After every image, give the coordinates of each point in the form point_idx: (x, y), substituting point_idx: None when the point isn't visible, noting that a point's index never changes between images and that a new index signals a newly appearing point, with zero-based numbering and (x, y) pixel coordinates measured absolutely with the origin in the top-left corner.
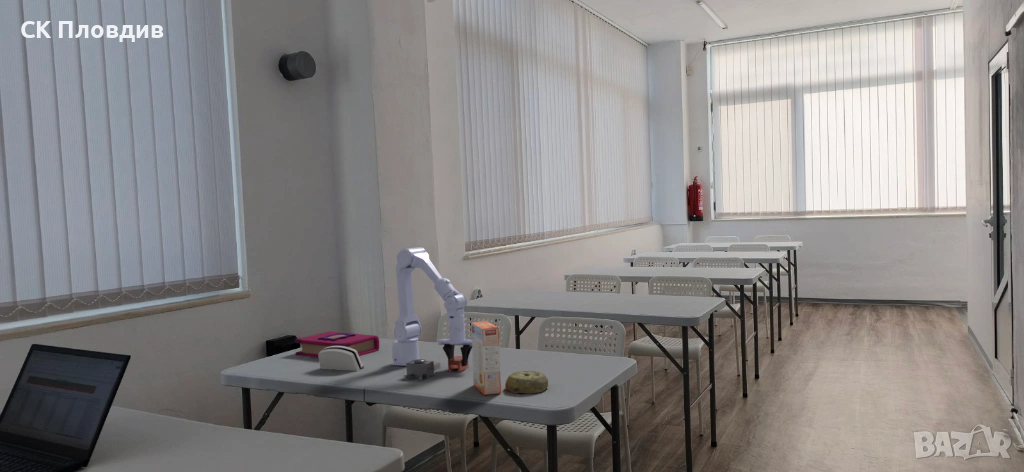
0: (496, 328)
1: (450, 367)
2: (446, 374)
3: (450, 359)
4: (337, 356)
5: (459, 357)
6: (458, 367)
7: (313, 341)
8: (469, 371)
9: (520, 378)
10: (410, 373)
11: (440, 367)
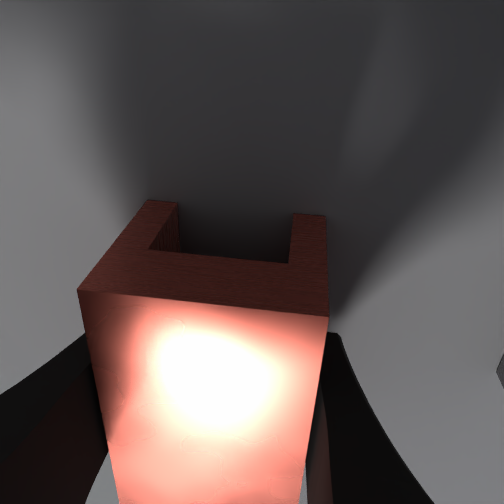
0: None
1: (290, 245)
2: (280, 17)
3: (297, 361)
4: None
5: (208, 467)
6: (147, 229)
7: None
8: (48, 237)
9: None
10: None
11: (496, 371)
